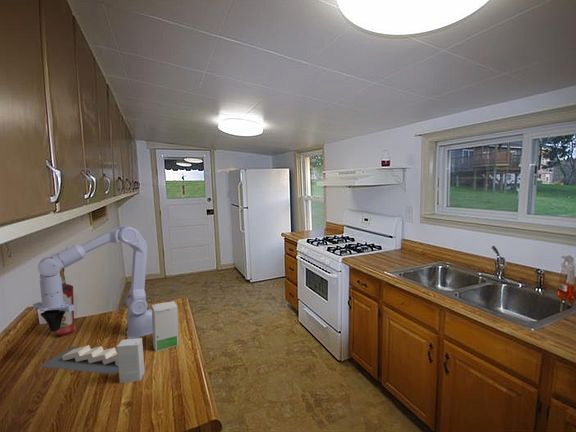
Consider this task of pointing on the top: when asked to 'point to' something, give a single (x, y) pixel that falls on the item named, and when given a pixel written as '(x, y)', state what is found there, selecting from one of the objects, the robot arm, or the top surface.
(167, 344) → the skincare box
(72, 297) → the liquor
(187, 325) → the top surface
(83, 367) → the runner mat
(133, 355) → the skincare box
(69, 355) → the domino
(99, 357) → the domino
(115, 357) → the domino
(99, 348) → the domino
